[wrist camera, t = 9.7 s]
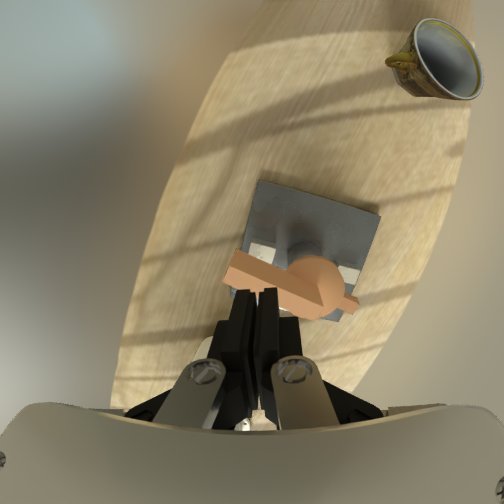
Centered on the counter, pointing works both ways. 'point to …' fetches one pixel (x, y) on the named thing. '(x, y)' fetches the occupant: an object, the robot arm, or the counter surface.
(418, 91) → the ceramic cup
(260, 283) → the orange lever handle
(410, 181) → the counter surface
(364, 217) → the grey plate with posts
